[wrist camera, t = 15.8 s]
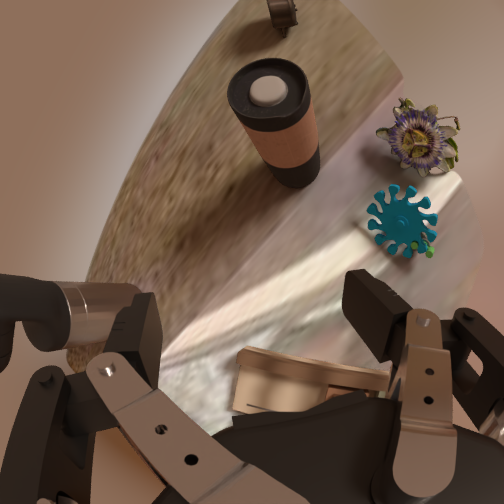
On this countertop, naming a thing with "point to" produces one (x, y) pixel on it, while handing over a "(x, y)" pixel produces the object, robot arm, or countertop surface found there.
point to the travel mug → (278, 118)
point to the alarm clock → (282, 14)
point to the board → (295, 381)
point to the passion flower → (421, 138)
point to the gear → (403, 222)
